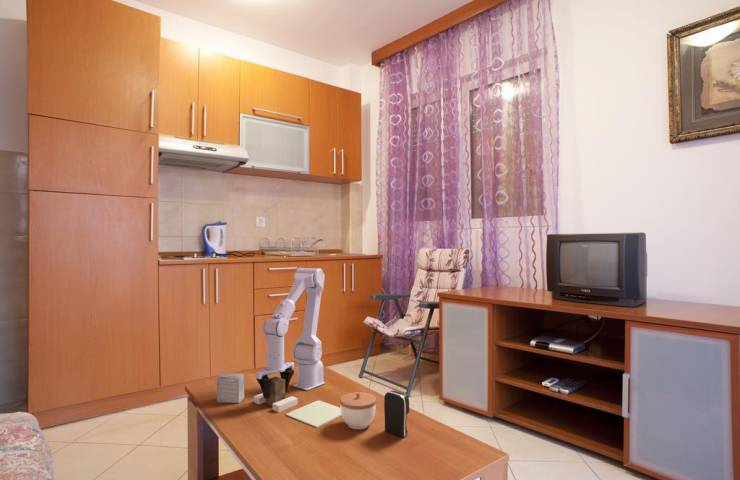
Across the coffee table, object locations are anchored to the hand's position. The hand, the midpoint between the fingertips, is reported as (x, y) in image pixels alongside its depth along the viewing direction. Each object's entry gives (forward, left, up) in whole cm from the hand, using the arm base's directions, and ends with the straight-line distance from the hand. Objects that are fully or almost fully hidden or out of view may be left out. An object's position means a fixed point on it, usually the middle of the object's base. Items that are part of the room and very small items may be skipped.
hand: (275, 394), depth 137 cm
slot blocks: (0, 0, -3) cm, 3 cm away
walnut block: (0, 0, -3) cm, 3 cm away
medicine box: (+8, -14, -3) cm, 16 cm away
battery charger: (-8, +44, -3) cm, 45 cm away
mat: (-3, +17, -3) cm, 18 cm away
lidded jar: (-5, +32, -3) cm, 33 cm away
